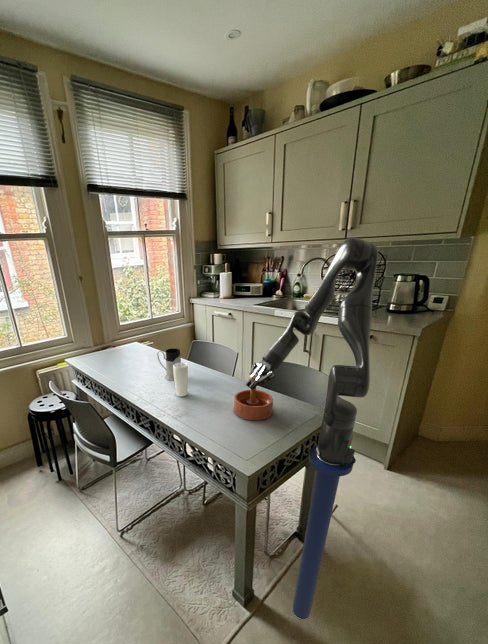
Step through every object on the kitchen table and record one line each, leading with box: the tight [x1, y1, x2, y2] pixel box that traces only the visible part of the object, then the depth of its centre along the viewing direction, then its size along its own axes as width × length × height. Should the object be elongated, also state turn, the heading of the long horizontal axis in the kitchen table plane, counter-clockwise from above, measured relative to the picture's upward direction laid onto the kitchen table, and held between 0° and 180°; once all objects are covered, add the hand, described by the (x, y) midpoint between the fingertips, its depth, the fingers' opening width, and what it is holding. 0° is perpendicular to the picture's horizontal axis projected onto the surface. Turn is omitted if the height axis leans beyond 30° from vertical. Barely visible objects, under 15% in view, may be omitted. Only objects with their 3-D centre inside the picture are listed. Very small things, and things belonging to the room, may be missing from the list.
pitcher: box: [156, 347, 182, 382], centre depth 167 cm, size 9×14×15 cm, turn 60°
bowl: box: [233, 389, 274, 421], centre depth 132 cm, size 16×16×6 cm
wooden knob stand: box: [246, 375, 259, 406], centre depth 132 cm, size 5×5×14 cm
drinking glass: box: [173, 362, 189, 397], centre depth 147 cm, size 7×7×15 cm
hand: (249, 387), depth 130 cm, fingers closed on wooden knob stand
